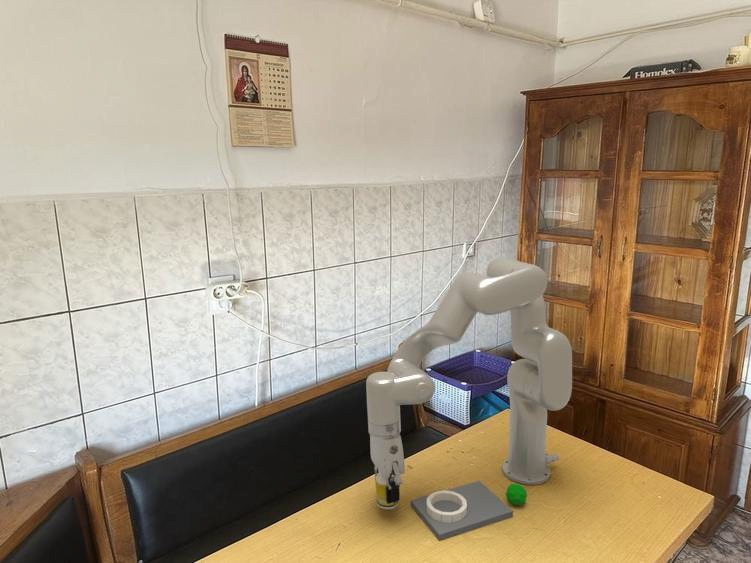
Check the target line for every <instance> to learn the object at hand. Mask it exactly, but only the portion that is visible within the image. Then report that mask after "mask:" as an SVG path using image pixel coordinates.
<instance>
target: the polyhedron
mask: <svg viewBox="0 0 751 563" xmlns="http://www.w3.org/2000/svg"><path fill="white" fill-rule="evenodd" d="M505 496H506V499H507V501H508V503H510V504H511V505H513V506H522V505H523V504H525V503H526V500H527V497H528V494H527V490H526V489H525V487H524V486H523V485H522V484H520V483H511V484H510V485H509V486H508V487H507V488H506V491H505Z"/></svg>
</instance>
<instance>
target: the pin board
mask: <svg viewBox="0 0 751 563" xmlns="http://www.w3.org/2000/svg"><path fill="white" fill-rule="evenodd" d="M410 507H411V508H412V509H413V511H414V512H415V513H416V515H418V516H419V518H420V519H421V520H422V522H424V523H425V525H426V526H427V527H428V529H429V530H430V531H431V532H432V533H433V534H434V537H436V539H437V540H439V542H440V541H442V540H446V539H450V538H451V537H454V536H455V537H456V536H458V535H461V534H465V533H467V532H470V531H473V530H476V529H479V528H483V527H485V526H489V525H491V524H495V523H498V522H500V521H504V520H507V519H510V518H513V517H514V510H513V509H512V508H510V506H508V505H507V504H506V503H505V502H504V501H503V500H502V499H501V498H499V496H497V495H496V494H495V493H494V492H492V490H490V489H489V488H488V487H487V486H486V485H485V484H484V483H483V482H482V481H481V480H475V481H473V482H469V483H465V484H463V485H458V486H456V487H452V488H448V489H444V490H438V491H434V492H432V493H430V494H427V495H424V496H420V497H417V498H414V499H410Z"/></svg>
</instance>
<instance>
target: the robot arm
mask: <svg viewBox="0 0 751 563" xmlns="http://www.w3.org/2000/svg"><path fill="white" fill-rule="evenodd" d="M547 287H548V277H547V274H546V272H545V271H544V270H543V268H541V267H540V266H538V265H535V264H532V263H529V262H523V261H519V260H517V259H511V258H507V257H499V258H495V259H493V260H491V261H490V262H489V263H488V264H487V268H486V275H483V274H480V273H477V272H471V271H470V272H469V271H467V272H463V273H461V274H459V275H458V276H457V277H456V278H455V279H454V280H453V282H452V284H451V285H450V288H448V290H447V292H446V294H445V296H444V297H443V299H442V300H441V302H440V304H439V305H438V307H437V308H436V310H435V311H434V313H433V314H432V316H431V318H430V320H429V321H428V322H427V323H426V324H424V325H423V326H421V327H420V328H418V329H417V330H416V331H415V332H413V333H412V334H411V335H409V336H408V337H407V338H406V339H405V340H404V341H403V342H402V343H401V345H400V346H399V347H398V349H397V351H396V352H395V353H394V355H393V357H392V359H391V361H390V363H389V364H388V367H387V371H378V372H377V371H376V372H373V373H372V374H370V375H368V376H367V378H366V382H365V383H366V384H365V386H366V387H365V388H366V405H367V406H366V408H367V409H366V410H367V425H368V427H367V428H368V434H369V439H370V440H369V446H370V448H369V449H370V452H369V453H370V459H371V461H372V463H373V465H374V473H375V474H374V477H375V481H376V475H377V474H378V473H379V472H378V469H379V471H380V472H381V473H382V474H383V475H384V476H385V477H386V482H387V488H386V501H387V503H388V504H390V503H393V502H396V501H399V502H400V499H401V494H400V486H401V484H403V479H402V478H403V477H402V475H404V474H405V471H406V468H405V465H406V464H405V457H404V448H403V443H402V437H401V434H400V433H401V431H402V428H401V427H402V425H401V407H400V406H403V405H404V406H405V405H419V404H424V403H426V402H428V401H430V400H431V399H432V397H433V396H434V395H435V393H436V385H435V382H434V379H433V378H432V377H431V376H430V375H429V374H427V373H426V372H425V371H423V370H422V369H421V368H419V366H420V364H421V363H422V361H423V360H424V359H425V357H426V356H427V355H428V354H429V353H431V352H432V351H433V350H435V349H438V348H441V347H444V346H450V345H453V344H457V343H459V342H460V341H461V340H462V338H463V337H464V335H465V334H466V331H467V330H468V328H469V326H470V325H471V324H472V323H473V320H474V318H475V317H476V315H477V314H478V313H479V314H481V315H485V316H494V315H498V314H499V315H500V314H502V313H506V312H508V311H509V312H510V330H511V332H510V333H511V334H510V335H511V345H512V349H513V351H514V352H515V353H516V354H517V355H518V356H520V357H522V358H521V359H518V360H515V361H514V362H513V363H512V364H511V365H510V366H509V369H508V371H507V375H506V377H507V378H506V380H507V381H506V382H507V389H508V394H509V428H508V451H507V452H508V456H507V457H508V458H506V459H505V460H504V461H503V462H502V464H501V471H502V473H503V474H504V475H505V477H507V478H508V479H509V480H511V481H513V482H515V483H517V484H521V485H527V486H528V485H529V486H530V485H541V484H543V483H545V482H548V480H549V479H550V477H551V469H550V467H549V466H548V465H550V464H551V463H554V462H557V461H559V459H560V457H559V454H557V453H552V454H550V455H549V452H548V451H546V447H547V446H546V445H547V426H548V410H549V411H560V410H562V409H563V408H565V407H566V405H567V404H568V402H569V401H570V399H571V397H572V390H573V351H572V346H571V343H570V341H569V339H568V337H567V336H566V335H565V334H564V333H562V332H561V331H559V330H557V329H554V328H551V327H549V326H548V324H547V319H546V318H547V317H546V308H545V307H546V304H545V299H544V293H545V291H546V290H547ZM391 472H393V473H392V474H391ZM392 477H394V479H395V480H394V481H392V482H391V483H390V478H392Z"/></svg>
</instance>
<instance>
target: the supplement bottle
mask: <svg viewBox="0 0 751 563" xmlns="http://www.w3.org/2000/svg"><path fill="white" fill-rule="evenodd" d="M378 472H379V473H378V474H377V473H376V474H377V475H376V480H375V495H376V505H377V506H378V507H379V508H380V509H382V510H392V509H395V508H397V507H398V505H399V503H400V500H399V501H396V502H393V503H390V504H388V503H387V501H386V488H387V482H386V477H385V476H384V475H383V474H382V473H381V472H380V471H379V469H378ZM392 473H393V472H391V474H392ZM394 480H395V479H394V477H392V478H390V483H391V482H392V481H394Z"/></svg>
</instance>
